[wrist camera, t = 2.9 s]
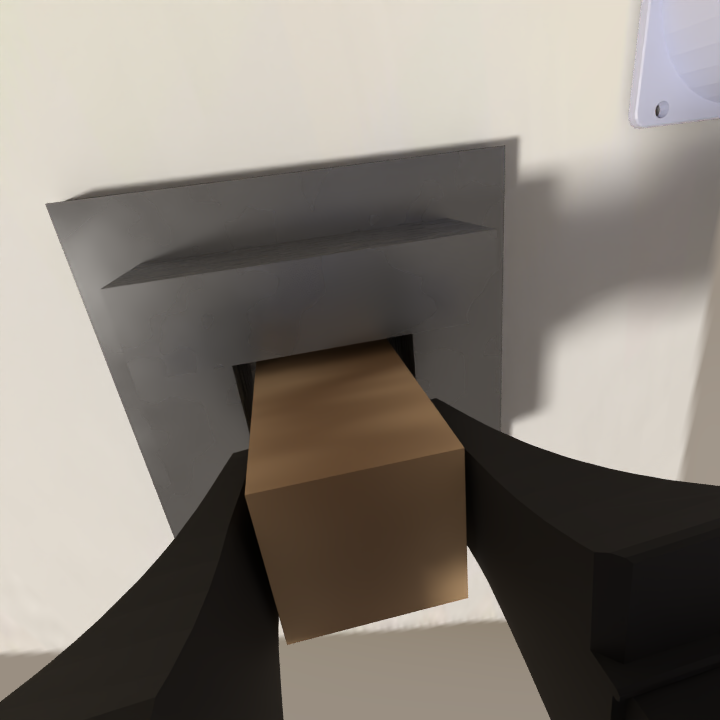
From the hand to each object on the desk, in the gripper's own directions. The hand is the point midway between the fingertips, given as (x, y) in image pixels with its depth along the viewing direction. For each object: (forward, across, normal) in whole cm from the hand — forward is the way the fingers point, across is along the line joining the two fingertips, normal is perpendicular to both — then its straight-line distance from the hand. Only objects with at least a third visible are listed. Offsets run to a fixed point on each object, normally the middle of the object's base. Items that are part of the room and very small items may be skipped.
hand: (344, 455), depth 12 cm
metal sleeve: (+6, 0, 0) cm, 6 cm away
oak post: (+5, 0, 0) cm, 5 cm away
